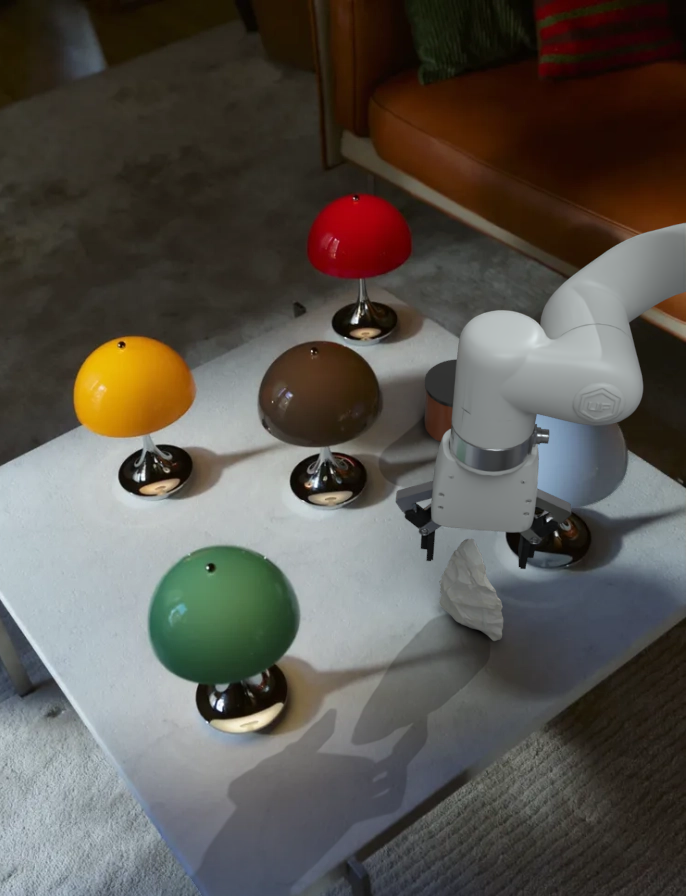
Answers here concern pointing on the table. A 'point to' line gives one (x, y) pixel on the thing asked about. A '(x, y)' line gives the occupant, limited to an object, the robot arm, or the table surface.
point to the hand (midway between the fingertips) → (475, 554)
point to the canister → (439, 398)
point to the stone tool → (471, 592)
